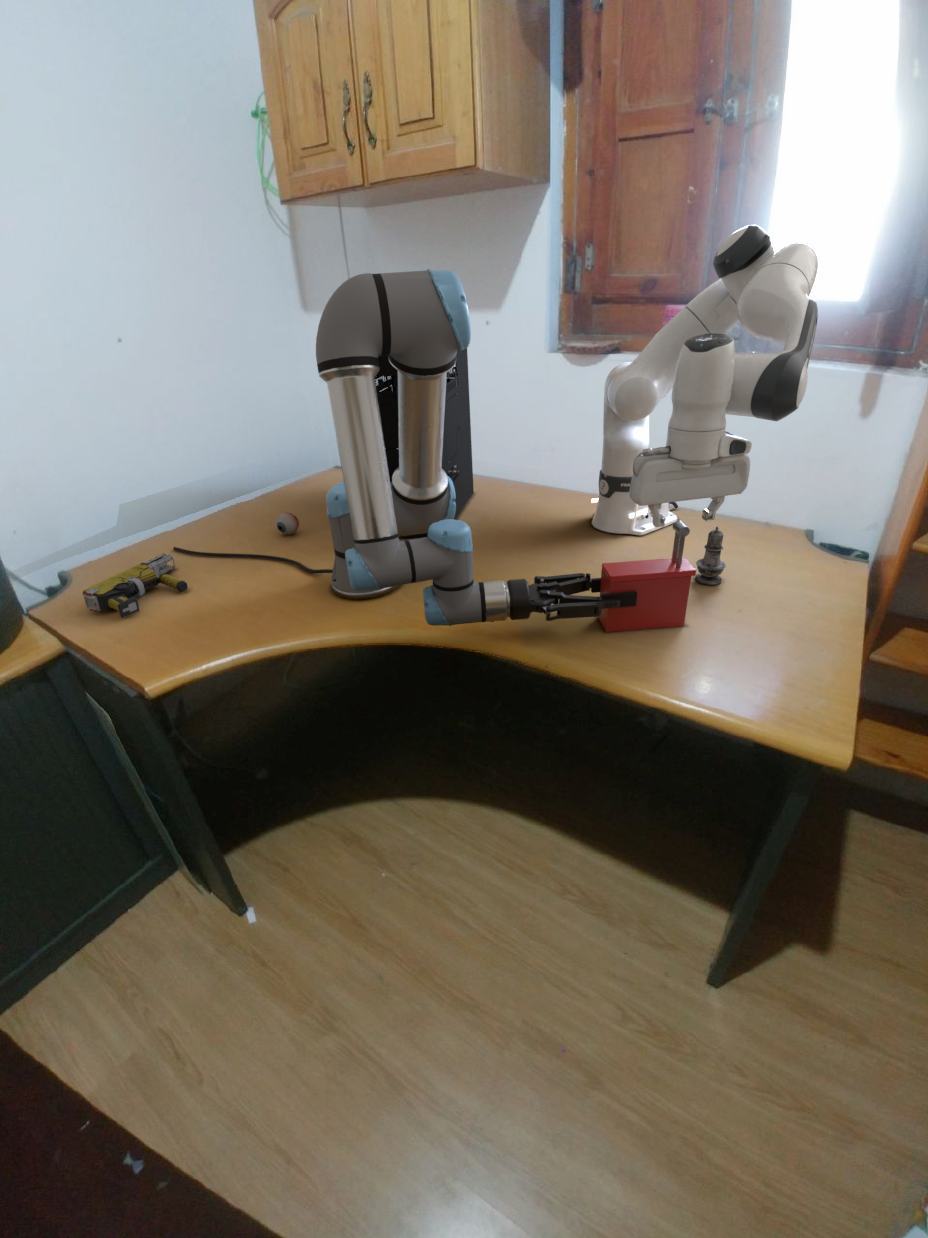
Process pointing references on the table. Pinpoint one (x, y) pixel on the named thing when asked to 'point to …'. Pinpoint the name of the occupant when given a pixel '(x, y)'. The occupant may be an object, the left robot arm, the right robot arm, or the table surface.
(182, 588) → the toy gun
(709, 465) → the right robot arm
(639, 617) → the chest
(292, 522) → the eyeball
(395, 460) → the black tall block
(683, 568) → the lid
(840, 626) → the table surface
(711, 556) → the grey chess bishop
